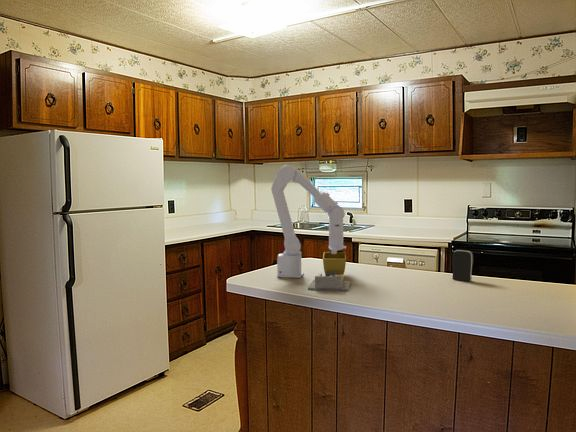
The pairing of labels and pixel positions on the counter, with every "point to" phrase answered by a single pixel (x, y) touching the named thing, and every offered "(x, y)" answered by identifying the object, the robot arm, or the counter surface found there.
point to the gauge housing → (329, 283)
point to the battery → (462, 265)
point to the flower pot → (334, 262)
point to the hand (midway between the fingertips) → (336, 268)
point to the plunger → (333, 274)
